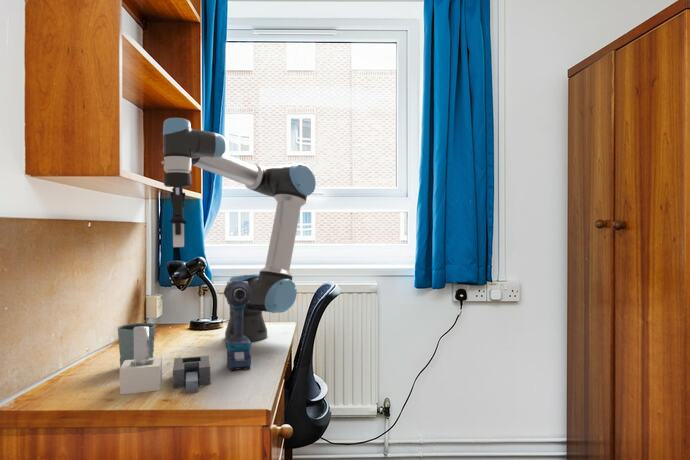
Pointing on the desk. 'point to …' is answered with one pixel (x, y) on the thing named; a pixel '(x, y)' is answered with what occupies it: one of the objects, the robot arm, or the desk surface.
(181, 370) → the socket block
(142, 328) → the silver rounded rod
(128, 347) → the grey-green cup
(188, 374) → the blue-grey rectangular bar
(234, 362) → the impact wrench
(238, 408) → the desk surface
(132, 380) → the block
